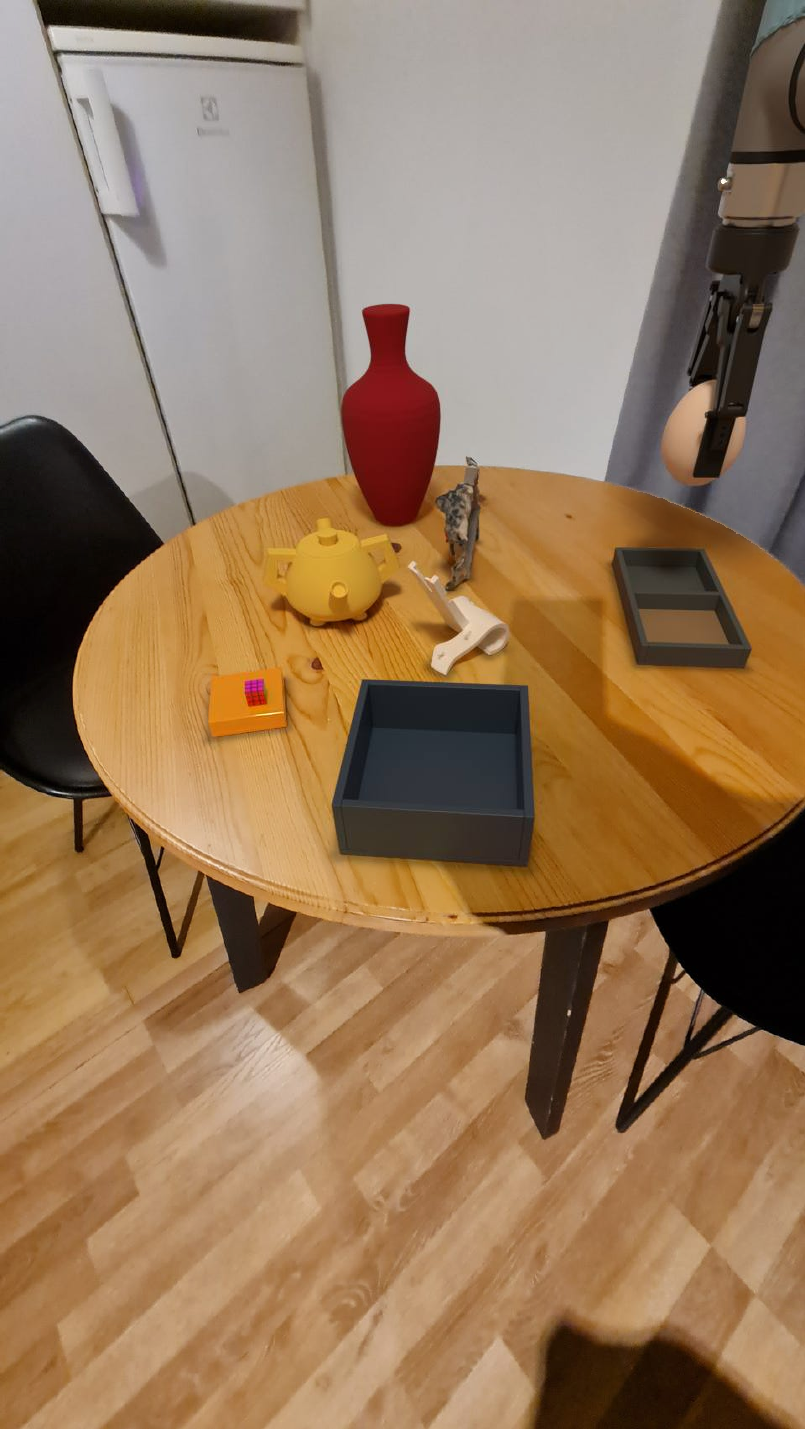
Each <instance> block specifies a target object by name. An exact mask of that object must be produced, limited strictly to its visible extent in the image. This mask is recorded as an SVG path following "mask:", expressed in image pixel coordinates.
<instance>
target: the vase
mask: <svg viewBox="0 0 805 1429" xmlns="http://www.w3.org/2000/svg"><path fill="white" fill-rule="evenodd" d="M361 314H362V318H363V319H362V320H363V323H364V327H365V331H366V335H367V340H368V345H369V351H370V359H369V364H368V367H367V369H366V371H365V372H364V374H362V376H360V377H359V379H357V380H356V381H355V382H354V383H352V384H351V385H350V386H349V387H348V388H347V389H346V391H345V393H344V394H343V396H342V402H341V407H340V415H341V426H342V434H343V439H344V443H345V447H346V451H347V455H348V458H349V459H348V460H349V462H350V466H351V468H352V472H353V475H354V478H355V480H356V483H357V486H358V487H359V489H360V492H361V494H362V497H363V498H364V500H365V502H366V505H367V506H368V508H369V510H370V512H371V514H372V516H373V518H374V519H375V520H376V522H377V523H379V524H381V525H383V526H386V527H402V526H407V525H410V524H411V523H413V522H414V521H415V520H416V519H417V518H418V515H419V512H420V510H421V508H422V506H423V502H424V500H425V498H426V495H427V492H428V489H429V486H430V484H431V480H432V477H433V473H434V469H435V465H436V460H437V455H438V450H439V444H440V443H439V442H440V434H441V422H442V421H441V419H442V415H441V414H442V413H441V402H440V401H441V400H440V398H439V394H438V392H437V390H436V388H435V387H434V386H433V384H432V383H430V382H429V381H427V380H426V379H424V378H423V377H422V376H420V375H419V374H417V373H416V372H415V371H414V370H413V369H412V367H410V365H409V363H408V360H407V359H408V358H407V354H406V345H407V335H408V326H409V321H410V314H411V308H410V307H409V306H408V305H406V304H400V303H381V304H380V303H379V304H373V305H369V306H366V307H363V309H362V310H361Z"/></svg>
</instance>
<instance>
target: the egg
mask: <svg viewBox="0 0 805 1429" xmlns="http://www.w3.org/2000/svg"><path fill="white" fill-rule="evenodd" d="M716 381H717V380H710V381H706V382H704V383H701V384H699V385H697V386H696V387H694V388H693V389H692V388H691V389H692V390H690V391H689V390H688V392H686V394H685V395H684V396H683V397H682V398H681V400H679V401H678V403H677V405H676V406H675V408H674V409H673V410H672V412H671V414H670V415H669V418H668V419H667V421H666V424H665V427H664V430H663V433H662V437H661V446H660V452H661V459H662V461H663V465H664V467H665V469H666V471H667V472H668V473H669V475H670V476H671V477H672V478H673V479H674V480H675V481H677V482H678V483H680V484H683V485H684V486H689V487H700V486H704V485H707V484H709V483H711V482H713V481H715V480H717V479H718V478H694V477H693V471H694V467H695V464H696V460H697V456H698V452H699V448H700V444H701V440H702V436H703V432H704V428H705V424H706V420H707V418H705V413H706V412H708V411H712V410H713V404H714V396H715V388H716ZM730 404H733V403H730ZM746 427H747V418H746V416H745V417H738V418H736V420H735V424H734V427H733V431H732V434H731V438H730V441H729V445H728V449H727V452H726V456H725V459H724V463H723V466H722V470H721V473H720V477H721V476H722V475H724V474H726V472H727V471H728V470H729V469H730V468H731V467H732V466H733V465H734V463H735V461H736V460H737V458H738V457H739V455H740V452H741V449H742V448H743V445H744V440H745V437H746V429H747V428H746Z"/></svg>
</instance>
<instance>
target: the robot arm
mask: <svg viewBox="0 0 805 1429" xmlns="http://www.w3.org/2000/svg"><path fill="white" fill-rule="evenodd" d="M754 43H755V44H753V46H752V49H751V52H750V53H749V63H748V70H747V74H746V79H745V83H744V88H743V92H742V97H741V102H740V107H739V112H738V118H737V121H736V126H735V131H734V136H733V141H732V145H731V153H730V156H729V163H728V166H727V170H726V176H724V177H721V178H720V179H719V180H718V182H717V189H718V191H722V193H721V196H720V202H719V207H718V212H717V215H718V216H719V218H721V219H722V222H721V223H718V224H717V225H716V227H714V228H713V230H712V235H711V240H710V244H709V249H708V253H707V257H706V262H705V267H706V269H707V271H709V272H710V273H713V274H717V275H722V277H721V279H711V281H710V283H709V286H708V292H707V297H706V302H705V307H704V311H703V314H702V317H701V320H700V324H699V328H698V332H697V335H696V339H695V343H694V346H693V350H692V352H691V356H690V360H689V364H688V368H687V370H686V376H687V377H689V379H688V385H689V388H688V392H689V391H690V390H692V389H693V388H694V387H696V386H697V385H699V384H701V383H704V382H706V381H710V380H717V381H716V388H715V396H714V404H713V410H712V411H708V412H706V413H705V418H707V420H706V424H705V428H704V432H703V436H702V440H701V444H700V448H699V452H698V456H697V460H696V464H695V467H694V471H693V477H694V478H717V479H720V477H721V476H720V473H721V470H722V466H723V463H724V459H725V456H726V452H727V449H728V445H729V441H730V438H731V434H732V431H733V427H734V424H735V420H736V418H738V417H745V418H746V416H747V413H748V411H749V405H750V400H751V397H752V391H753V388H754V383H755V378H756V374H757V369H758V364H759V360H760V355H761V351H762V346H763V341H764V338H765V333H766V329H767V327H768V323H769V321H770V317H771V314H772V312H773V302H765V295H764V290H765V285H766V282H765V281H766V279H767V277H768V276H770V275H776V274H780V273H782V272H784V271H786V270H787V269H788V267H789V266H790V263H791V260H792V256H793V253H794V250H795V248H796V247H795V246H796V243H797V239H798V236H799V233H800V230H801V229H800V227H799V224H798V223H796V221H797V218H800V217H802V216H803V215H804V214H805V0H766V1H765V3H764V7H763V12H762V15H761V19H760V24H759V28H758V32H757V34H756V39H755V42H754ZM730 403H733V404H730Z"/></svg>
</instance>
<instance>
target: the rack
mask: <svg viewBox="0 0 805 1429" xmlns="http://www.w3.org/2000/svg"><path fill="white" fill-rule="evenodd" d="M611 567H612V572H613V575H614V579H615V583H616V587H617V590H618V595H619V598H620V602H621V607H622V610H623V615H624V618H625V621H626V622H625V624H626V628H627V630H628V635H629V638H630V644H631V647H632V651H633V654H634V658H635V662H636V665H638V666H668V667H697V668H700V667H701V668H722V669H723V668H727V669H745V668H746V666H747V663H748V660H749V658H750V655H751V653H752V650H753V647H752V646H751V643H750V642H749V639H748V637H747V635H746V633H745V630H744V629H743V627H742V625H741V622H740V621H739V618H738V616H737V614H736V612H735V609H734V607H733V605H732V604H731V601H730V599H729V597H728V595H727V593H726V592H725V589H724V587H723V584H722V583H721V581H720V579H719V576H718V574H717V572H716V570H715V568H714V565H713V563H712V561H711V560H710V558H709V555H708V552H707V551H706V549H705V548H690V547H689V548H686V547H683V548H682V547H635V546H634V547H631V546H630V547H629V546H626V547H625V546H620V547H619V546H617V547H615V548H614V552H613V558H612V562H611Z"/></svg>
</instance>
